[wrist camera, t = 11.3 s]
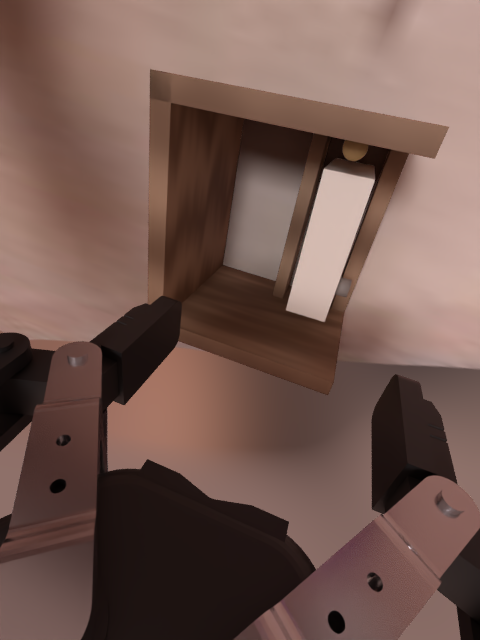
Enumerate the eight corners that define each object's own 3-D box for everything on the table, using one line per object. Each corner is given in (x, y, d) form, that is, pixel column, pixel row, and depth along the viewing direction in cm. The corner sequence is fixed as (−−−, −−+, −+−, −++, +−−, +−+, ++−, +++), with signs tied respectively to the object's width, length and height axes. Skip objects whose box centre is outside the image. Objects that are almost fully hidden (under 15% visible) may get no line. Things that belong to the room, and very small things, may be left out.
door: (335, 157, 26) (323, 168, 19) (387, 168, 25) (393, 183, 19) (303, 271, 31) (285, 310, 25) (345, 283, 31) (337, 326, 24)
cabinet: (233, 90, 26) (150, 69, 16) (416, 126, 23) (449, 126, 13) (210, 272, 35) (147, 329, 25) (341, 313, 32) (327, 395, 22)
